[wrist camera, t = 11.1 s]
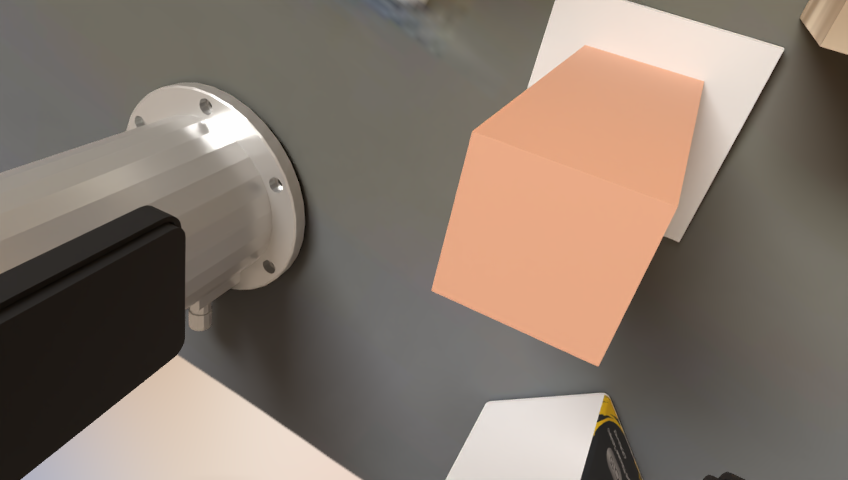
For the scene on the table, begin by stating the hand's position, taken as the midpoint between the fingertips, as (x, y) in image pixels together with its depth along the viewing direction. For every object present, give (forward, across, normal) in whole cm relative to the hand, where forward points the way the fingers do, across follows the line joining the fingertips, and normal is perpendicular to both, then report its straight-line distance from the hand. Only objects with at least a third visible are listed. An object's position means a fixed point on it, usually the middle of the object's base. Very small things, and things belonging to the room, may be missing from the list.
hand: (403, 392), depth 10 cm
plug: (+17, -2, -1) cm, 17 cm away
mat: (+17, -2, -1) cm, 17 cm away
